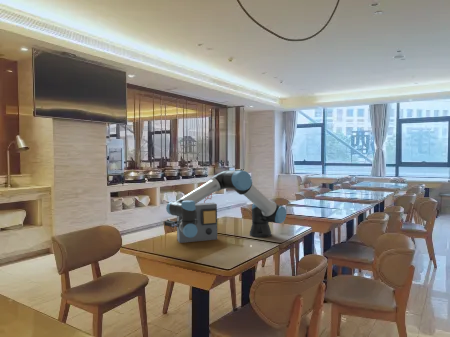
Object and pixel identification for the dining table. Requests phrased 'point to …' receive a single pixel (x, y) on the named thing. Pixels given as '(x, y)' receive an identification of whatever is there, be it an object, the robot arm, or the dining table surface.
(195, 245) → the dining table surface
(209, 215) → the switch key
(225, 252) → the dining table surface
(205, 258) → the dining table surface
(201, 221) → the grey knob panel box
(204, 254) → the dining table surface
